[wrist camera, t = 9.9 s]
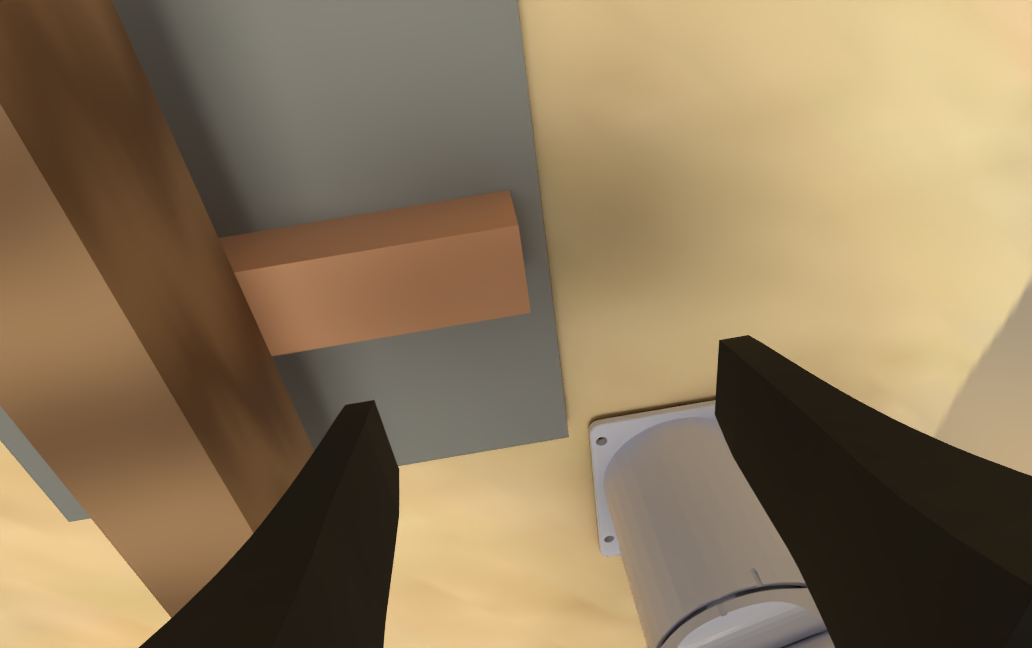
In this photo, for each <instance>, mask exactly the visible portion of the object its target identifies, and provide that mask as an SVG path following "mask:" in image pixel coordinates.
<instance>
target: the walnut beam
mask: <svg viewBox="0 0 1032 648" xmlns="http://www.w3.org/2000/svg"><path fill="white" fill-rule="evenodd" d="M0 406H1V407H2V408H3V410H4V411H5V412H6V413H7V415H8V416H9V417H10V418H11V420H12V421H13V422H14V423H15V425H16V426H17V427H18V428H19V429H20V431H21V432H22V433H23V434H24V436H25V437H26V438H27V439H28V441H29V442H30V443H31V444H32V446H33V447H34V448H35V449H36V451H37V452H38V453H39V454H40V455H41V457H42V458H43V459H44V460H45V462H46V463H47V464H48V465H49V467H50V468H51V469H52V470H53V472H54V473H55V474H56V475H57V477H58V478H59V479H60V480H61V482H62V483H63V484H64V485H65V486H66V488H67V489H68V490H69V491H70V493H71V494H72V495H73V496H74V498H75V499H76V500H77V501H78V503H79V504H80V505H81V506H82V508H83V509H84V510H85V511H86V512H87V514H88V515H89V516H90V517H91V519H92V520H93V521H94V522H95V524H96V525H97V526H98V527H99V529H100V530H101V531H102V532H103V534H104V535H105V536H106V537H107V538H108V540H109V541H110V542H111V543H112V545H113V546H114V547H115V548H116V550H117V551H118V552H119V553H120V555H121V556H122V557H123V558H124V560H125V561H126V562H127V563H128V565H129V566H130V567H131V568H132V569H133V571H134V572H135V573H136V574H137V576H138V577H139V578H140V579H141V581H142V582H143V583H144V584H145V586H146V587H147V588H148V589H149V591H150V592H151V593H152V594H153V595H154V597H155V598H156V599H157V600H158V602H159V603H160V604H161V605H162V607H163V608H164V609H165V610H166V612H167V613H168V614H169V615H170V617H171V618H172V617H173V616H174V615H175V614H176V613H177V612H179V611H180V610H181V609H182V608H183V607H184V606H185V605H186V604H187V603H188V602H189V601H190V600H191V599H192V598H193V597H194V596H195V595H196V594H197V593H198V592H199V591H200V590H201V589H202V588H203V587H204V586H205V585H206V584H207V583H208V582H209V581H210V580H211V579H212V578H213V577H214V576H215V575H216V574H217V573H218V572H219V571H220V570H221V569H222V568H223V567H224V566H225V565H226V563H227V562H228V561H229V560H230V559H231V558H232V557H233V556H234V555H235V554H236V552H237V551H238V550H239V549H240V548H241V547H242V546H243V545H244V544H245V542H246V541H247V540H248V539H249V538H250V537H251V535H252V534H253V533H254V532H255V531H256V529H257V528H258V527H259V526H260V525H261V523H262V522H263V521H264V519H265V518H266V517H267V516H268V514H269V513H270V512H271V510H272V509H273V508H274V506H275V505H276V504H277V503H278V501H279V500H280V499H281V497H282V496H283V495H284V493H285V492H286V491H287V489H288V488H289V487H290V485H291V484H292V482H293V481H294V480H295V478H296V477H297V475H298V474H299V472H300V471H301V470H302V468H303V467H304V465H305V464H306V462H307V461H308V460H309V458H310V457H311V455H312V454H313V452H314V450H313V447H312V445H311V443H310V441H309V439H308V436H307V434H306V432H305V430H304V427H303V425H302V423H301V421H300V418H299V416H298V414H297V412H296V410H295V407H294V405H293V403H292V401H291V398H290V396H289V394H288V392H287V390H286V387H285V385H284V383H283V381H282V378H281V376H280V374H279V372H278V369H277V367H276V365H275V363H274V361H273V358H272V356H271V354H270V352H269V349H268V347H267V345H266V343H265V340H264V338H263V336H262V334H261V332H260V329H259V327H258V325H257V323H256V320H255V318H254V316H253V314H252V312H251V309H250V307H249V305H248V303H247V300H246V298H245V296H244V294H243V291H242V289H241V287H240V285H239V283H238V280H237V278H236V276H235V274H234V271H233V269H232V267H231V265H230V262H229V260H228V258H227V256H226V254H225V251H224V249H223V247H222V245H221V242H220V240H219V238H218V236H217V234H216V231H215V229H214V227H213V225H212V222H211V220H210V218H209V216H208V213H207V211H206V209H205V207H204V205H203V202H202V200H201V198H200V196H199V193H198V191H197V189H196V187H195V185H194V182H193V180H192V178H191V176H190V173H189V171H188V169H187V167H186V164H185V162H184V160H183V158H182V156H181V153H180V151H179V149H178V147H177V144H176V142H175V140H174V138H173V135H172V133H171V131H170V129H169V127H168V124H167V122H166V120H165V118H164V115H163V113H162V111H161V109H160V107H159V104H158V102H157V100H156V98H155V95H154V93H153V91H152V89H151V86H150V84H149V82H148V80H147V78H146V75H145V73H144V71H143V69H142V66H141V64H140V62H139V60H138V57H137V55H136V53H135V51H134V49H133V46H132V44H131V42H130V40H129V37H128V35H127V33H126V31H125V29H124V26H123V24H122V22H121V20H120V17H119V15H118V13H117V11H116V8H115V6H114V4H113V2H112V0H0Z"/></svg>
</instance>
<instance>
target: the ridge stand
mask: <svg viewBox="0 0 1032 648" xmlns="http://www.w3.org/2000/svg"><path fill="white" fill-rule="evenodd" d="M112 2H113V4H114V6H115V8H116V11H117V13H118V15H119V17H120V20H121V22H122V24H123V26H124V29H125V31H126V33H127V35H128V37H129V40H130V42H131V44H132V46H133V49H134V51H135V53H136V55H137V57H138V60H139V62H140V64H141V66H142V69H143V71H144V73H145V75H146V78H147V80H148V82H149V84H150V86H151V89H152V91H153V93H154V95H155V98H156V100H157V102H158V104H159V107H160V109H161V111H162V113H163V115H164V118H165V120H166V122H167V124H168V127H169V129H170V131H171V133H172V135H173V138H174V140H175V142H176V144H177V147H178V149H179V151H180V153H181V156H182V158H183V160H184V162H185V164H186V167H187V169H188V171H189V173H190V176H191V178H192V180H193V182H194V185H195V187H196V189H197V191H198V193H199V196H200V198H201V200H202V202H203V205H204V207H205V209H206V211H207V213H208V216H209V218H210V220H211V222H212V225H213V227H214V229H215V231H216V234H217V236H218V238H219V240H220V242H221V245H222V247H223V249H224V251H225V254H226V256H227V258H228V260H229V262H230V265H231V267H232V269H233V271H234V274H235V276H236V278H237V280H238V283H239V285H240V287H241V289H242V291H243V294H244V296H245V298H246V300H247V303H248V305H249V307H250V309H251V312H252V314H253V316H254V318H255V320H256V323H257V325H258V327H259V329H260V332H261V334H262V336H263V338H264V340H265V343H266V345H267V347H268V349H269V352H270V354H271V356H272V358H273V361H274V363H275V365H276V367H277V369H278V372H279V374H280V376H281V378H282V381H283V383H284V385H285V387H286V390H287V392H288V394H289V396H290V398H291V401H292V403H293V405H294V407H295V410H296V412H297V414H298V416H299V418H300V421H301V423H302V425H303V427H304V430H305V432H306V434H307V436H308V439H309V441H310V443H311V445H312V447H313V450H314V451H315V449H316V448H317V446H318V445H319V443H320V442H321V440H322V439H323V437H324V436H325V434H326V432H327V431H328V429H329V428H330V426H331V425H332V423H333V422H334V420H335V419H336V417H337V416H338V414H339V413H340V411H341V410H342V409H343V407H344V406H345V405H347V404H353V403H359V402H365V401H371V400H375V403H376V406H377V409H378V412H379V414H380V417H381V420H382V423H383V426H384V428H385V431H386V434H387V437H388V440H389V443H390V445H391V448H392V451H393V454H394V457H395V459H396V462H397V465H398V466H401V465H407V464H413V463H419V462H425V461H431V460H436V459H442V458H448V457H454V456H460V455H466V454H472V453H478V452H484V451H489V450H495V449H501V448H507V447H513V446H519V445H525V444H531V443H537V442H542V441H548V440H554V439H560V438H566V437H569V435H568V427H567V418H566V410H565V401H564V393H563V384H562V376H561V367H560V359H559V350H558V342H557V333H556V325H555V316H554V308H553V299H552V291H551V282H550V274H549V265H548V257H547V248H546V240H545V231H544V223H543V214H542V206H541V197H540V188H539V180H538V171H537V163H536V154H535V146H534V137H533V129H532V120H531V112H530V103H529V95H528V86H527V78H526V69H525V61H524V52H523V44H522V35H521V27H520V18H519V10H518V1H517V0H112ZM0 440H1V442H2V443H3V444H4V445H5V446H6V448H7V449H8V450H9V451H10V452H11V454H12V455H13V456H14V457H15V458H16V459H17V461H18V462H19V463H20V464H21V465H22V467H23V468H24V469H25V470H26V471H27V473H28V474H29V475H30V476H31V477H32V478H33V480H34V481H35V482H36V483H37V484H38V486H39V487H40V488H41V489H42V490H43V492H44V493H45V494H46V495H47V496H48V497H49V499H50V500H51V501H52V502H53V503H54V505H55V506H56V507H57V508H58V509H59V510H60V512H61V513H62V514H63V515H64V516H65V518H66V519H67V520H68V521H69V522H71V521H77V520H83V519H89V518H91V517H90V516H89V515H88V514H87V512H86V511H85V510H84V509H83V508H82V506H81V505H80V504H79V503H78V501H77V500H76V499H75V498H74V496H73V495H72V494H71V493H70V491H69V490H68V489H67V488H66V486H65V485H64V484H63V483H62V482H61V480H60V479H59V478H58V477H57V475H56V474H55V473H54V472H53V470H52V469H51V468H50V467H49V465H48V464H47V463H46V462H45V460H44V459H43V458H42V457H41V455H40V454H39V453H38V452H37V451H36V449H35V448H34V447H33V446H32V444H31V443H30V442H29V441H28V439H27V438H26V437H25V436H24V434H23V433H22V432H21V431H20V429H19V428H18V427H17V426H16V425H15V423H14V422H13V421H12V420H11V418H10V417H9V416H8V415H7V413H6V412H5V411H4V410H3V408H2V407H1V406H0Z"/></svg>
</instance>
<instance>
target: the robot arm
mask: <svg viewBox="0 0 1032 648" xmlns="http://www.w3.org/2000/svg"><path fill="white" fill-rule="evenodd" d="M600 437H604V438H603V439H600V440H598V438H600ZM589 440H590V451H591V462H592V473H593V484H594V495H595V506H596V517H597V528H598V539H599V548H600V552H601V554H602V555H603V556H607V557H609V556H616V555H621V557H622V560H623V564H624V567H625V571H626V574H627V578H628V581H629V585H630V588H631V592H632V595H633V598H634V602H635V605H636V609H637V612H638V616H639V619H640V623H641V626H642V630H643V633H644V637H645V640H646V644H647V647H648V648H1032V476H1030V475H1027V474H1024V473H1021V472H1018V471H1016V470H1013V469H1010V468H1008V467H1005V466H1002V465H1000V464H997V463H994V462H992V461H989V460H986V459H984V458H981V457H978V456H976V455H973V454H971V453H968V452H966V451H963V450H961V449H958V448H956V447H953V446H951V445H949V444H947V443H944V442H942V441H940V440H937V439H935V438H933V437H931V436H929V435H926V434H924V433H922V432H920V431H917V430H915V429H913V428H911V427H909V426H907V425H904V424H902V423H900V422H898V421H896V420H894V419H892V418H890V417H888V416H886V415H884V414H883V413H881V412H879V411H877V410H875V409H873V408H871V407H869V406H867V405H865V404H863V403H862V402H860V401H858V400H856V399H854V398H852V397H851V396H849V395H847V394H845V393H844V392H842V391H840V390H838V389H837V388H835V387H833V386H831V385H830V384H828V383H826V382H825V381H823V380H821V379H820V378H818V377H816V376H815V375H813V374H811V373H810V372H808V371H806V370H805V369H803V368H801V367H800V366H798V365H797V364H795V363H793V362H792V361H790V360H788V359H787V358H785V357H784V356H782V355H780V354H779V353H777V352H776V351H774V350H772V349H771V348H769V347H768V346H766V345H764V344H763V343H761V342H759V341H758V340H756V339H754V338H753V337H751V336H749V335H747V336H741V337H735V338H730V339H724V340H719V354H718V370H717V385H716V400H713V401H707V402H701V403H695V404H689V405H683V406H677V407H672V408H666V409H660V410H654V411H648V412H642V413H636V414H630V415H624V416H618V417H613V418H607V419H601V420H597V421H594V422H593V423H591V425H590V426H589ZM398 519H399V468H398V465H397V462H396V459H395V457H394V454H393V451H392V448H391V445H390V443H389V440H388V437H387V434H386V431H385V428H384V426H383V423H382V420H381V417H380V414H379V412H378V409H377V406H376V403H375V400H371V401H365V402H359V403H353V404H347V405H345V406H344V407H343V409H342V410H341V411H340V413H339V414H338V416H337V417H336V419H335V420H334V422H333V423H332V425H331V426H330V428H329V429H328V431H327V432H326V434H325V436H324V437H323V439H322V440H321V442H320V443H319V445H318V446H317V448H316V449H315V451H314V452H313V454H312V455H311V457H310V458H309V460H308V461H307V462H306V464H305V465H304V467H303V468H302V470H301V471H300V472H299V474H298V475H297V477H296V478H295V480H294V481H293V482H292V484H291V485H290V487H289V488H288V489H287V491H286V492H285V493H284V495H283V496H282V497H281V499H280V500H279V501H278V503H277V504H276V505H275V506H274V508H273V509H272V510H271V512H270V513H269V514H268V516H267V517H266V518H265V519H264V521H263V522H262V523H261V525H260V526H259V527H258V528H257V529H256V531H255V532H254V533H253V534H252V535H251V537H250V538H249V539H248V540H247V541H246V542H245V544H244V545H243V546H242V547H241V548H240V549H239V550H238V551H237V552H236V554H235V555H234V556H233V557H232V558H231V559H230V560H229V561H228V562H227V563H226V565H225V566H224V567H223V568H222V569H221V570H220V571H219V572H218V573H217V574H216V575H215V576H214V577H213V578H212V579H211V580H210V581H209V582H208V583H207V584H206V585H205V586H204V587H203V588H202V589H201V590H200V591H199V592H198V593H197V594H196V595H195V596H194V597H193V598H192V599H191V600H190V601H189V602H188V603H187V604H186V605H185V606H184V607H183V608H182V609H181V610H180V611H179V612H177V613H176V614H175V615H174V616H173V617H172V618H171V619H170V620H169V621H168V622H167V623H166V624H165V625H164V626H163V627H161V628H160V629H159V630H158V631H157V632H156V633H155V634H154V635H152V636H151V637H150V638H149V639H148V640H147V641H146V642H145V643H143V644H142V645H141V646H140V647H139V648H383V645H384V632H385V621H386V613H387V605H388V597H389V590H390V582H391V574H392V567H393V559H394V552H395V544H396V535H397V527H398Z"/></svg>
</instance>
